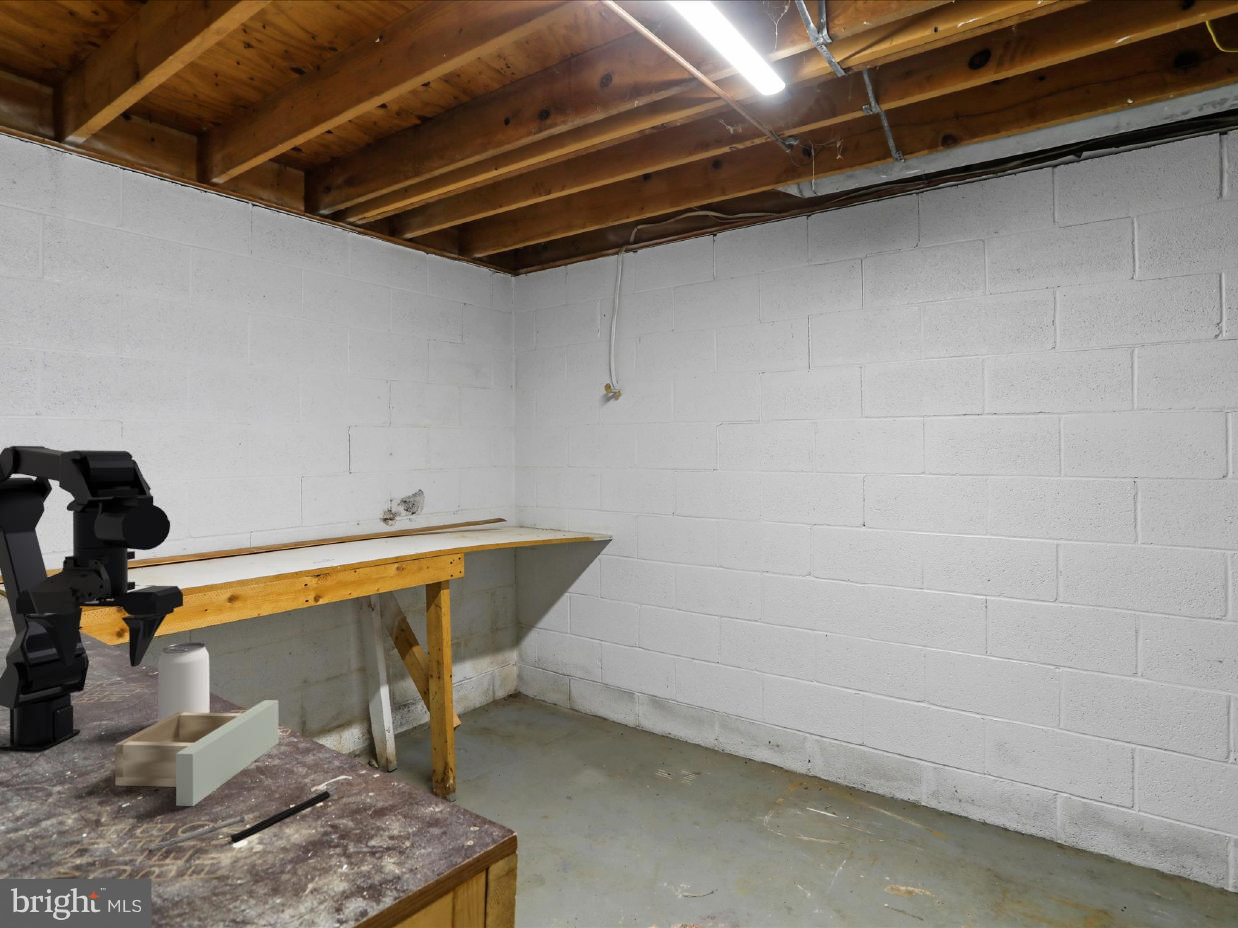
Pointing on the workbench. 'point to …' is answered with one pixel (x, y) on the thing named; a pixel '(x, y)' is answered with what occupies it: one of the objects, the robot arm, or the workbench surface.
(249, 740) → the panel
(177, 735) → the wooden drawer box
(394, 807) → the workbench surface
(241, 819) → the grey thin rod
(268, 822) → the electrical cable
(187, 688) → the can
